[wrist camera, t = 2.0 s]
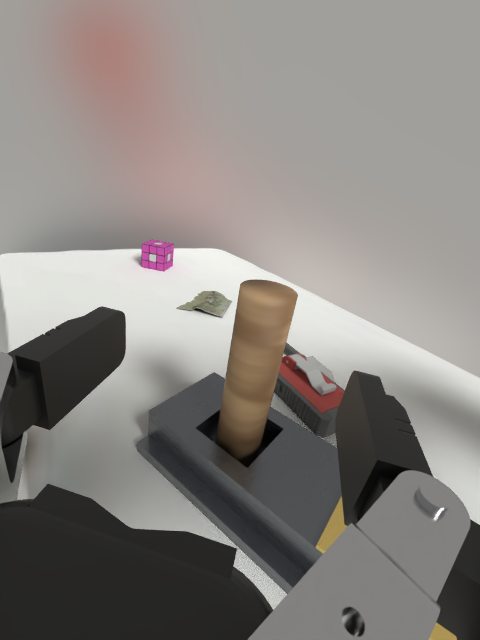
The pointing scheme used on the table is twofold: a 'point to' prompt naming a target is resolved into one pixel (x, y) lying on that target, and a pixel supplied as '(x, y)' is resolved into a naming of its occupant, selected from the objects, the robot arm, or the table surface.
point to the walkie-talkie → (309, 391)
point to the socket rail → (254, 483)
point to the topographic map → (209, 303)
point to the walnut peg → (253, 365)
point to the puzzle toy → (157, 255)
